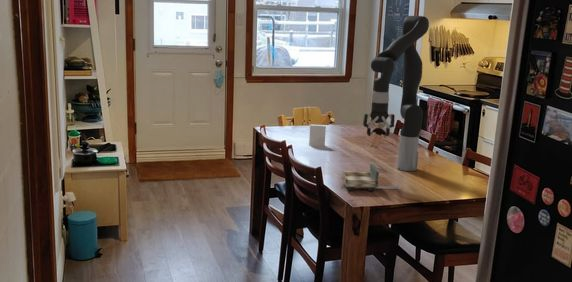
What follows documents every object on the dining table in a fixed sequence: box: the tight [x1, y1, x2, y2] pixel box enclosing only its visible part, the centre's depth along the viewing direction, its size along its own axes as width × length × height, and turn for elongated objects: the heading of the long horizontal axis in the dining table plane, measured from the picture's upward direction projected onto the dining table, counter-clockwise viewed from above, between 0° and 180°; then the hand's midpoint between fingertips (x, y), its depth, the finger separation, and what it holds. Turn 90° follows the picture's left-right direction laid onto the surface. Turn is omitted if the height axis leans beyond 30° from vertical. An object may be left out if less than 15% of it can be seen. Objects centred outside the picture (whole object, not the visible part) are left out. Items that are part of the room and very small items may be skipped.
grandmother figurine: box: [369, 122, 387, 149], centre depth 272 cm, size 8×4×13 cm, turn 108°
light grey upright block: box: [308, 123, 327, 149], centre depth 335 cm, size 9×9×12 cm
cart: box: [341, 163, 380, 193], centre depth 261 cm, size 14×13×9 cm
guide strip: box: [339, 184, 400, 190], centre depth 262 cm, size 26×3×1 cm, turn 93°
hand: (377, 135), depth 272 cm, fingers closed on grandmother figurine, 7 cm apart
